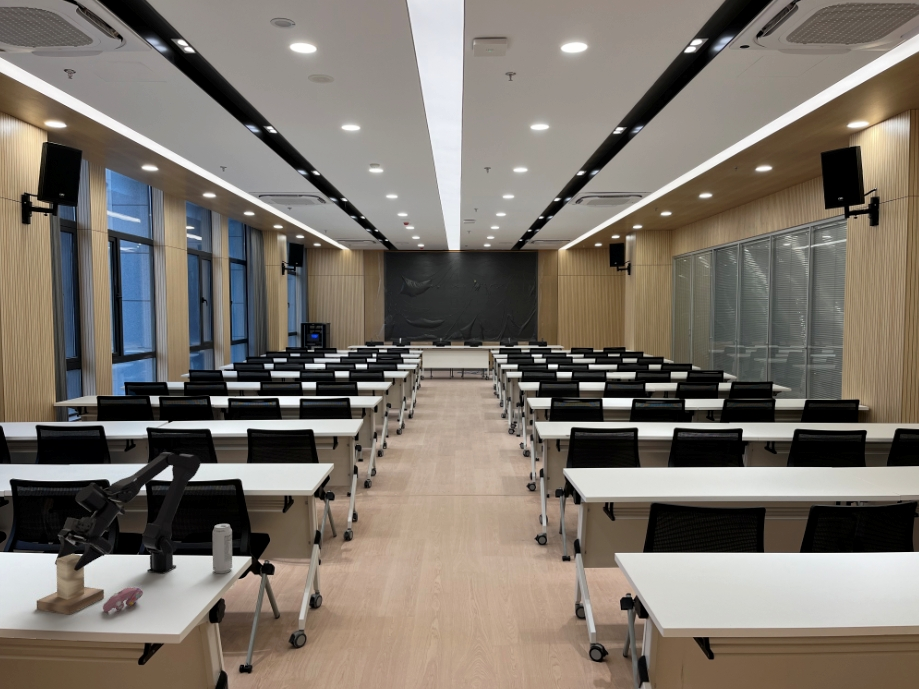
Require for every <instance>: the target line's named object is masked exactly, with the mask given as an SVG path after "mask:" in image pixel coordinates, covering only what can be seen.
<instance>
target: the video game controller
mask: <svg viewBox="0 0 919 689" xmlns="http://www.w3.org/2000/svg"><path fill="white" fill-rule="evenodd" d="M143 594H144V591H143V590H142V589H141V588H140V587H138V586H137V585H136V586H135V585H134V586H133V587H125V588H123V589H121V590H120V591H118V592H117V593H114V594H112V595H111V596H110V598H108V600H107V601H106V602H105V603H104V604H103V606H102V609H103V612H105V613H107V612H110V611H111V610H113V609H115V610H116V611H117V612H119V611H121V610H122V609H124V607H125V605H126V607H127V608H128V607H132V606H133V605H134V604H135V603H136V601H138V600H139V599H140V598H141V597H142V596H143ZM118 610H119V611H118Z"/></svg>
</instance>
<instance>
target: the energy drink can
mask: <svg viewBox="0 0 919 689" xmlns="http://www.w3.org/2000/svg"><path fill="white" fill-rule="evenodd" d="M232 568H233V530H232V528H231V525H230V524H229V523H219V524H216V525H214V528H213V530H212V570H213V572H214V573H216V574H225V573H229V572H230V571H231V570H232Z"/></svg>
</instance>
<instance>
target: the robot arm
mask: <svg viewBox="0 0 919 689" xmlns="http://www.w3.org/2000/svg"><path fill="white" fill-rule="evenodd" d="M170 466H172V468H171V471H172V480H171V482H170V484H169V487H168V489H167V492H166V495H165V497H164V500H163V502H162V504H161V507H160V508H159V511H158V514H157V517H156V518H155V520H154V521H153V522H152V523H150V522H148V523H147V524H146V525H145V528H144V531H143V533H142V534H141V536H142V538H141V542H142V544H143V546H144V548H146V551H147V552H150V556H149V568H148V569H147V572H148V573H156V574H165V573H168V572H170V571H171V570H173V569H176V568H177V565H175V564H174V563H173V562H174V559H173V558H174V553H175V552H176V551H177V548H178V544H177V543H176V542H175V541H173V540H172V536H173V528H172V522H173V520H174V517H175V515H176V513H177V509H178V507H179V505H180V502H181V499H182V498H183V494H184V492H185V489H186V487H187V485H188V482H190V480H192V478H194V477H195V476H196V474H197V472H198V470H199V469H200V466H201V461H200V458H199V456H197V455H195V454H186V453H180V454H176V453H173V452H167V451H163V452H161V453H159V455H158V456H157V457H155V458H153V460H151V461H149V462H148V463H147V464H146V465H145V466H143V467H142V468H140V469H139V470H138V471H136V472H135V473H133V474H132V475H130V476H128V477H125V478H120V479H119V480H117V481H115V482H112V483H111V484H110V485H109V487H106V488H104V489H102V488H101V487H100V486H99V484H97V483H95V482H90V484H89V485H88V486H87V485H86V486H85V487H83V488H81V489H80V490H79V491H78V492H77V493H76V496H75V501H76V502H77V503H78V504H79V505H80V506H82V507H83V508H85V509H86V510H87V511H89V512H90V513H93V512H94V513H93V514H92V515H91V517H90V516H86V517H83V516H82V518H80V519H77V518H74V517H73V518H72V517H66V520H65V524H64V526H63V529H61V530H60V531H59V532H58V533H57V537H58V540H59V542H60V548H59V550H58V554H57V557H56V559H58V558H61V557H64V556H67V555H71V554H74V552H76V551H77V550H78V549H79V547H78V546H80V545H82V544H83V545H84V552H83V553H82V555H80V556H81V558H80V559H79V561H78V562H77V564H76V566H75V568H74V570H75V571H78V570H79V569H81V568H83V567H84V568H85V566H88V565H89V564H90V563H92V562H94V561H95V560H97V559H99V558H101V557H104V556H105V554H107V555H109V554H110V553H111V551H112V550H113V543H111V542H110V541H109V540H108V539H106V538H104V537H103V534H104V533H105V532H108V533H109V531H110V530H111V528H110V527H109V526H110V525H111V523H112V522H113V521H114V519H115V518H116V517H117V515H118V514H119V515H123V516H125V515H126V510H125V505H122V504H118V503H126V504H128V503H130V502H132V501H133V500H134V498H136V496H138V494H140V491H141V489H142V488H143V487H144V486H146V484H147V483H149V482H150V481H151V480H153V479H155V477H157V476H158V475H160V474H161V473H162V472H163V471H164V470H166V469H167V468H169V467H170ZM108 499H109V500H108ZM110 500H111V501H110ZM117 502H118V503H117ZM54 565H55V566H57V564H56V560H55V562H54Z"/></svg>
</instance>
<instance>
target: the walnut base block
mask: <svg viewBox="0 0 919 689" xmlns="http://www.w3.org/2000/svg"><path fill="white" fill-rule="evenodd" d="M104 594H105V589H104V588H103V589H102V588H96V587H91V586H90V587H89V586H84V594H82V595H79V596H76V597H73V598H71V599H68V600H67V599H64V598H61V597H57V591H56V592H52V593H51V594H49V595H45V596H44V597H42V598H39V599H36V610H38V611H44V612H45V611H46V612H51V613H52V612H53V613H57V614H64V615H72V614H73V613H76V612H78V611H79V610H82V609H84V608H85V607H87V606H90V605H92V604H94V603H96V602H99V601H100V600H103V599H104V598H105V595H104ZM102 598H103V599H102Z"/></svg>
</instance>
